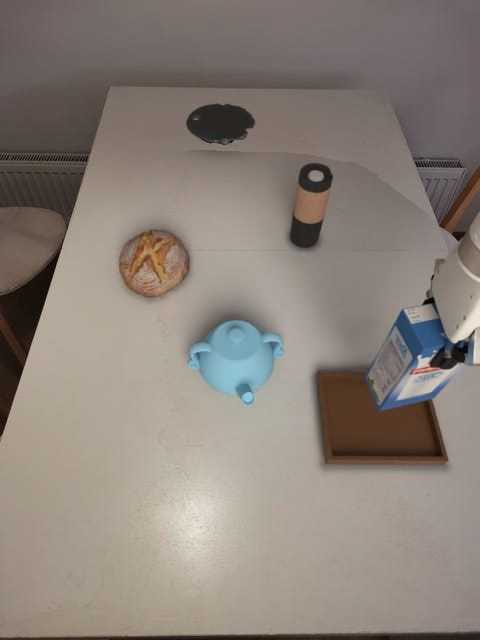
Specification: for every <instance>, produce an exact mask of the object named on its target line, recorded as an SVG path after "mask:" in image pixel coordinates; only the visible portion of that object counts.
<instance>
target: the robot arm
mask: <svg viewBox="0 0 480 640" xmlns="http://www.w3.org/2000/svg"><path fill="white" fill-rule="evenodd" d="M425 297H426V299H425V298H424V300H423V302H422V304H421V305H425V304H430V303H436V306H437V309H438V312H439V315H440V318H441V322H442V325H443V328H444V330H445V333H446V335H447V337H448V338H447V342H446V346H445V349H440V350H439V351H438V353H437V354H436V355H435V356H434V358H433V359H432V360H431V362H430V363H429V364H430V367H431V368H441V369H442V370H449V369H452V368H453V367H455V365H456V364H457V363H458V362H459V363H464V364H465V365H466V366H469V367H480V210H478V213H477V214H476V216H475V218H474V219H473V221H472V222H471V224H470V226H469V227H468V229H467V230H466V232H465V234H464V235H463V237H461V239H459V240H458V242H456V244H455V245H454V246H453V248H452V249H451V250H450V251H449V252H448V254H447V255H446V256H445V258H436V259H435V262H434V268H433V274H432V275H431V276H430V288H428V289H426V291H425ZM458 341H464V344H463V347H455V344H456V343H457V342H458Z"/></svg>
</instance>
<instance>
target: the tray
mask: <svg viewBox="0 0 480 640" xmlns="http://www.w3.org/2000/svg"><path fill="white" fill-rule="evenodd" d="M366 373H367V372H336V371H335V372H334V371H333V372H331V371H329V372H328V371H327V372H325V371H324V372H323V371H318V373H317V376H316V385H317V395H318V405H319V414H320V422H321V432H322V441H323V450H324V458H325V465H332V466H333V465H337V466H338V465H339V466H341V465H344V466H345V465H346V466H347V465H349V466H351V465H352V466H353V465H355V466H356V465H358V466H359V465H363V466H365V465H366V466H368V465H369V466H377V465H378V466H445V464H447V463H449V457H448V453H447V449H446V445H445V442H444V438H443V435H442V431H441V427H440V423H439V419H438V417H437V412H436V408H435V404H434V401H433V399H429V400H425V401H421V402H416V403H412V404H408V405H404V406H399V407H395V408H391V409H386V410H382V411H379V410H378V408H377V405H376V403H375V401H374V399H373V396H372V394H371V392H370V390H369V387H368V385H367V383H366V381H365V378H364V377H365V375H366Z"/></svg>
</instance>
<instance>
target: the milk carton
mask: <svg viewBox="0 0 480 640" xmlns="http://www.w3.org/2000/svg"><path fill="white" fill-rule="evenodd" d="M447 338H448V337H447V335H446V333H445V330H444V328H443V325H442V322H441V318H440V315H439V312H438V309H437V306H436V303H430V304H425V305H422V304H420V305H416V306H409V307H405V308H401V310H400V312H399V314H398V316H397V317H396V319H395V321H394V322H393V324H392V327H391V329H390V330H389V332H388V334H387V335H386V337H385V338H384V341H383V343H382V345H381V347H380V348H379V350H378V352H377V354H376V355H375V357H374V359H373V360H372V363H371V364H370V366H369V368H368V370H367V372H365V373H366V375H365V377H364V378H365V381H366V383H367V385H368V387H369V390H370V392H371V394H372V396H373V399H374V401H375V403H376V405H377V408H378V410H379V411H382V410H386V409H391V408H395V407H399V406H404V405H408V404H412V403H416V402H421V401H425V400H429V399H432V400H433V399H435V398H436V397H437V396H438V395H439V394H440V392H441V391H442V390H444V389H445V387H446V386H447V385H448V384H449V383H450V382H451V381H452V379H454V378H455V376H457V374H458V373H459V372H460V371H461V370H462V369H463V368H464V367H465V365H466V364H464V363H459V362H458V363H457V364H456V365H455V367H453V368H452V369H449V370H442V369H441V368H431V367H430V364H429V363H430V362H431V360H432V359H433V358H434V356H435V355H436V354H437V353H438V351H439V350H440V349H445V346H446V342H447ZM463 344H464V341H458V342H457V343H456V344H455V347H463Z"/></svg>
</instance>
